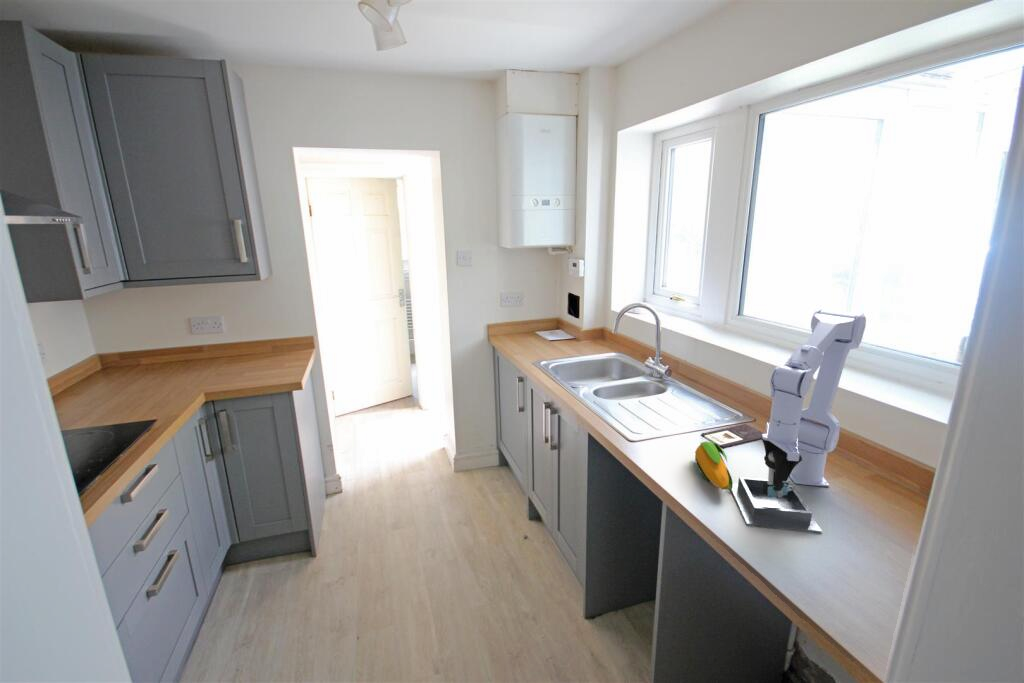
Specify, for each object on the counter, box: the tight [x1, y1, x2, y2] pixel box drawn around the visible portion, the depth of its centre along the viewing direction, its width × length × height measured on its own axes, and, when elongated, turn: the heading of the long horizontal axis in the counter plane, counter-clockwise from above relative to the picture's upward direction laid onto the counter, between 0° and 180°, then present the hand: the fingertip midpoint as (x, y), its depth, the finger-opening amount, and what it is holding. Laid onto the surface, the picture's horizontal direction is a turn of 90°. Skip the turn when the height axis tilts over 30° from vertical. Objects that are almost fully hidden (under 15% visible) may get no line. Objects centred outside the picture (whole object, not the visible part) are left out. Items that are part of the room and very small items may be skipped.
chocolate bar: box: [700, 423, 765, 449], centre depth 141 cm, size 9×1×18 cm
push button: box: [763, 452, 792, 498], centre depth 105 cm, size 7×5×10 cm
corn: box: [694, 441, 734, 490], centre depth 119 cm, size 7×8×20 cm
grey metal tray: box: [729, 476, 823, 534], centre depth 107 cm, size 16×15×4 cm
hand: (776, 472), depth 105 cm, fingers closed on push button, 5 cm apart
